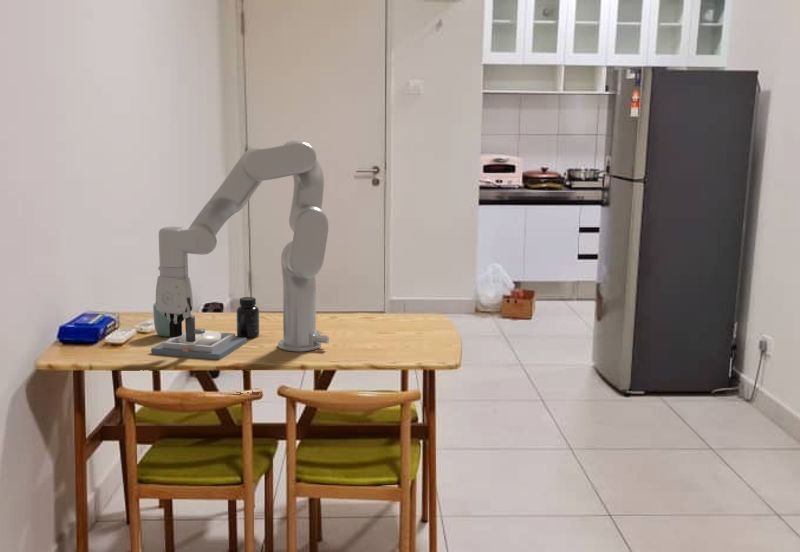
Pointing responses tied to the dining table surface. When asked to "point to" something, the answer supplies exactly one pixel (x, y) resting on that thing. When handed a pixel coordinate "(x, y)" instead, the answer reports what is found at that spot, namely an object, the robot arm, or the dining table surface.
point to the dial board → (200, 347)
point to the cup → (160, 323)
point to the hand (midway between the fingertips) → (175, 336)
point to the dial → (198, 334)
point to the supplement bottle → (247, 318)
